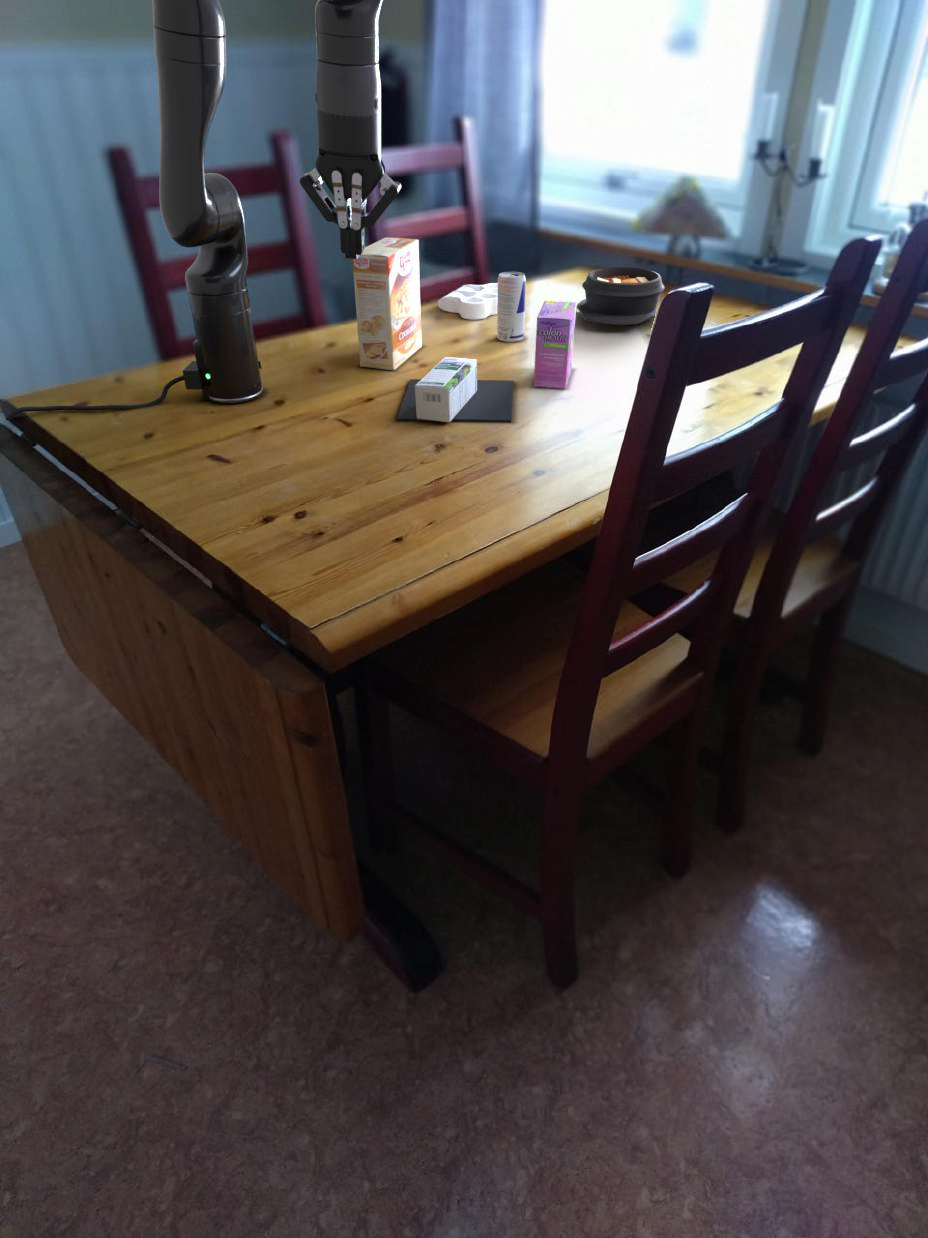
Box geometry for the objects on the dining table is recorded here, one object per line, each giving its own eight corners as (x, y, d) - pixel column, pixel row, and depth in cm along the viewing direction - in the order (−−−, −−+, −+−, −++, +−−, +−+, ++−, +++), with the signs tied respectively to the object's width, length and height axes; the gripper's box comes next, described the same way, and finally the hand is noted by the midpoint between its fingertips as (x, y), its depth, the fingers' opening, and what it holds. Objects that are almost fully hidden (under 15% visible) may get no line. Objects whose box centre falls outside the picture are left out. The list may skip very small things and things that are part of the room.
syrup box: (413, 384, 129) (444, 353, 141) (415, 420, 133) (445, 388, 144) (449, 387, 128) (477, 356, 139) (450, 424, 131) (478, 391, 143)
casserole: (655, 337, 168) (660, 293, 163) (563, 329, 173) (565, 286, 168) (673, 304, 187) (678, 264, 182) (590, 298, 192) (592, 258, 187)
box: (566, 389, 144) (571, 318, 137) (533, 387, 145) (536, 316, 138) (572, 369, 153) (577, 301, 146) (541, 367, 154) (543, 300, 147)
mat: (397, 420, 134) (396, 418, 133) (410, 381, 148) (410, 379, 148) (511, 422, 133) (511, 419, 132) (513, 382, 147) (513, 380, 147)
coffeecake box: (394, 371, 153) (388, 255, 142) (358, 367, 155) (349, 253, 144) (423, 346, 165) (420, 238, 153) (390, 343, 166) (383, 235, 155)
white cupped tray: (464, 294, 196) (524, 300, 191) (431, 315, 182) (494, 322, 177) (464, 279, 194) (524, 285, 189) (430, 298, 180) (494, 305, 175)
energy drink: (528, 336, 169) (530, 273, 162) (515, 343, 165) (517, 279, 158) (505, 332, 171) (506, 270, 164) (491, 339, 168) (492, 275, 161)
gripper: (410, 104, 102) (407, 252, 113) (302, 93, 103) (311, 241, 114) (398, 118, 96) (396, 272, 108) (284, 106, 97) (295, 260, 109)
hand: (352, 256), depth 111 cm, fingers closed
